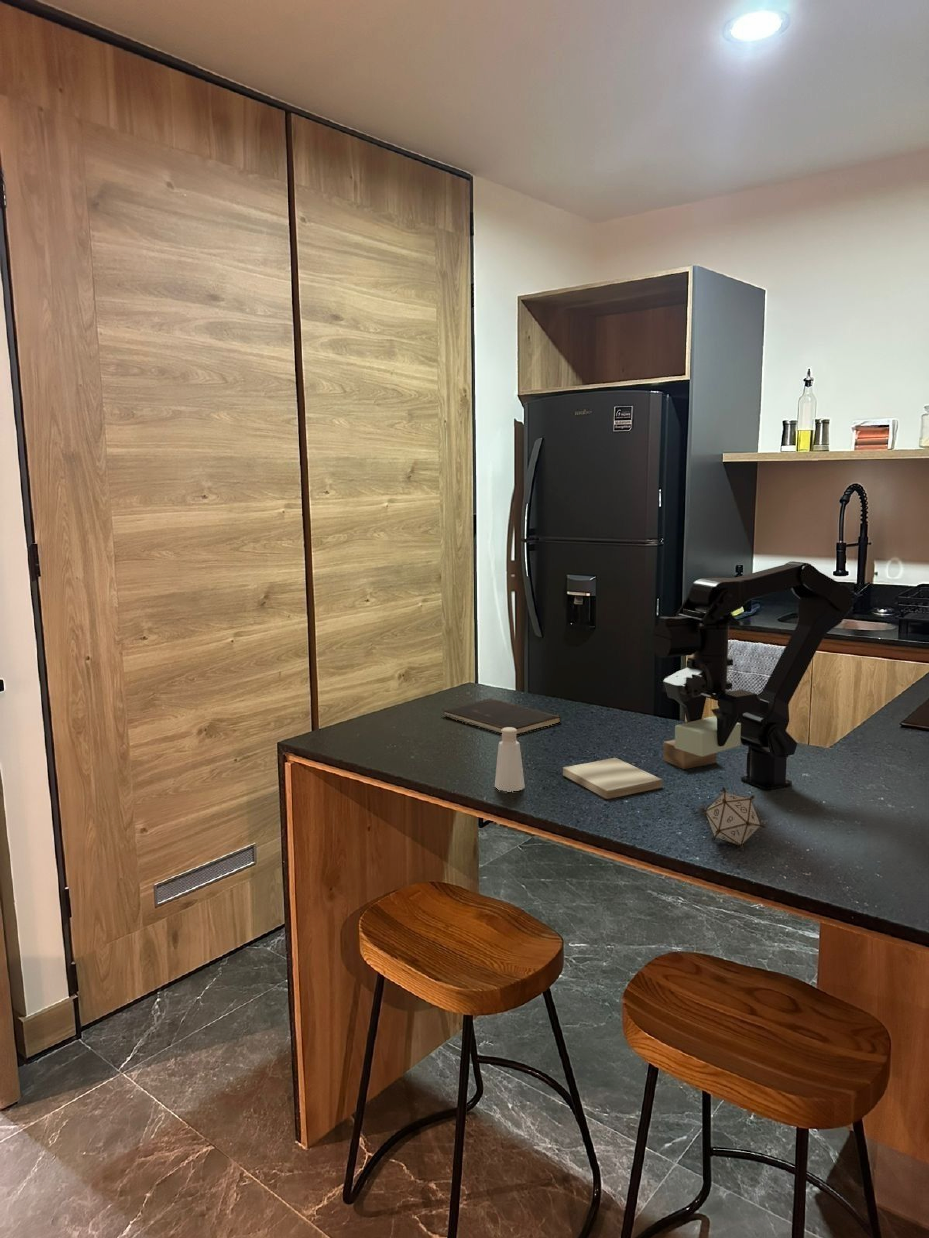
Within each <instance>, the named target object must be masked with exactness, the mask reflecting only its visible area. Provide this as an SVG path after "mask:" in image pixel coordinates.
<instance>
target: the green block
mask: <svg viewBox="0 0 929 1238" xmlns="http://www.w3.org/2000/svg"><path fill="white" fill-rule="evenodd" d="M740 733H741V723H737V724H736V725H735V727H734V729H733V731H732V732H731V734H730V736H729V738H728V740H727V741H726V743H725V745H724V746H721V747H720V746H718V742H717V717H716V716H715V715H713V716H709V717H705V718H704V717H703V718H702V719H700V720H696V721H692V722H688V723H687V722H685V723H680V724H676V725H675V726H674V740H675V748H676V749H679V750H683V751H686V752H689V753H692V754H695V755H699V756H706V755H709V754H713V753H716V754H717V753H720V752H722V751H723V752H724V751H726V750H730V749H733V748H737V747H740V746H741V739H740Z"/></svg>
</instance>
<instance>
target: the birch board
mask: <svg viewBox="0 0 929 1238" xmlns="http://www.w3.org/2000/svg"><path fill="white" fill-rule="evenodd" d="M562 776H564V777H566V778H567V779H569V780H571V781H573V782H574V783H576V784H578V785H580V786H581V787H584V788H586V789H587V790H589V791H591V792H592V793H595V794H596V795H598V796H600V797H602V798H604V799H606V800H609V799H613V798H614V799H615V798H618V797H624V796H628V795H632V794H638V793H643V792H646V791H652V790H656V789H661V788H663V779H662V778H660V777H658V776H655V775H653V774H652V773H649V772H647V771H645V770H643V769H641V768H638V767H636V766H634V765H632V764H630V763H628V762H626V761H623V760H621V759H619V758H617V757H613V758H612V757H611V758H607V759H606V758H605V759H602V760H597V761H591V762H586V763H581V764H575V765H570V766H564V767H562Z"/></svg>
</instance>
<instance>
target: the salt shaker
mask: <svg viewBox="0 0 929 1238" xmlns="http://www.w3.org/2000/svg"><path fill="white" fill-rule="evenodd" d="M501 732H502V734H501V741H499V742H498V746H497V757H496V758H497V759H496V768H495V769H496V770H495V779H494V780H495V781H494V787H496V788H497V789H498V790H503V791H507V792H511V791H512V793H514V792H513V791H519V790H521V791H522V790H524V789H525V779H524V777H525V776H524V770H523V760H522V753H521V745H520V742H519V741H517V735H516V733H517V729H515V728H512V727H506V728H503V729H502V730H501ZM496 788H495V789H496ZM497 789H496V790H497ZM498 790H497V791H498ZM507 792H506V793H507Z"/></svg>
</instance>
